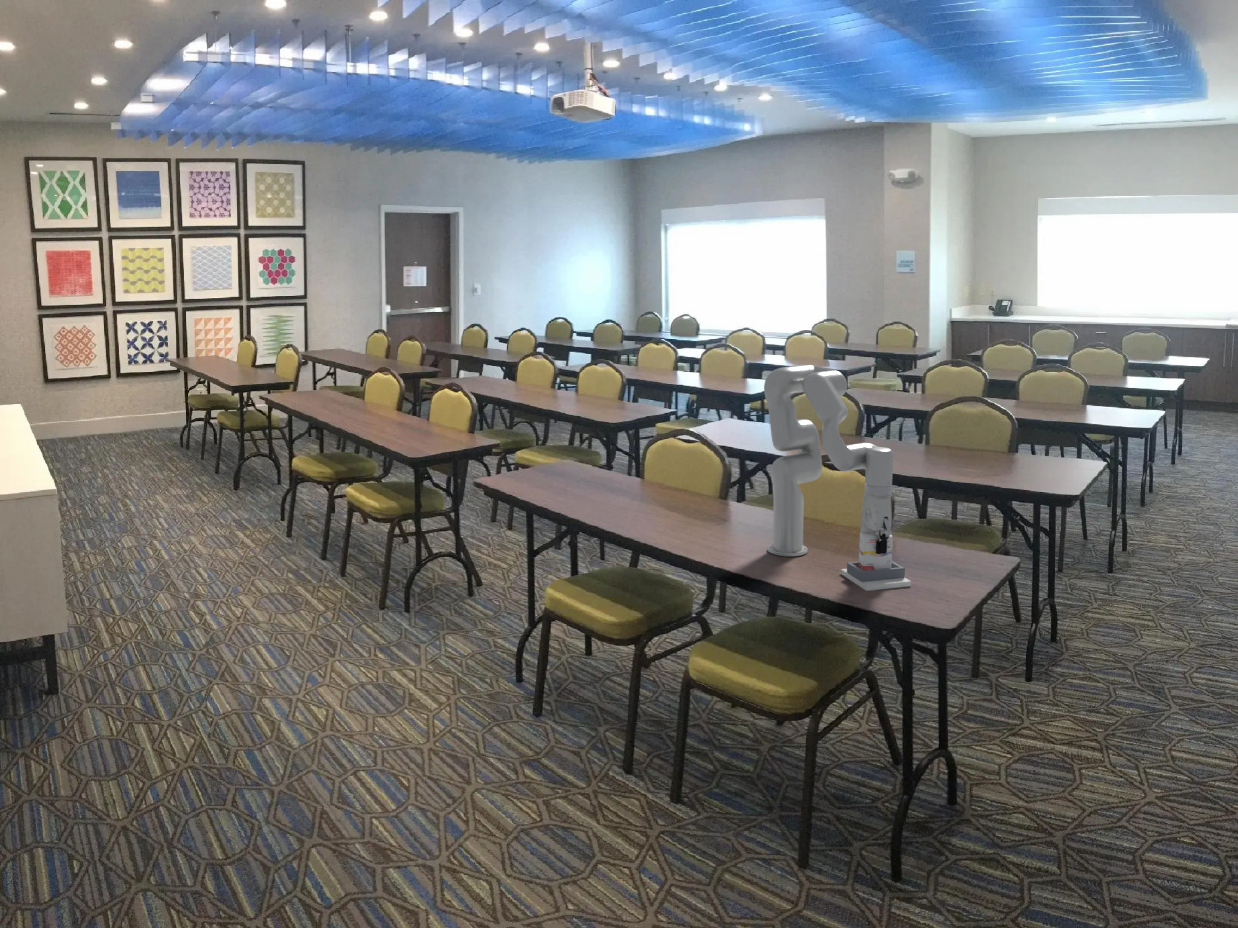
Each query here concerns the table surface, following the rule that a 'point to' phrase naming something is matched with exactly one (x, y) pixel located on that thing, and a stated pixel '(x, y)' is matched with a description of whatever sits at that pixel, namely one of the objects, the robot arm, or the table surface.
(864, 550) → the ink cartridge box
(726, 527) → the table surface
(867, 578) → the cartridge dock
